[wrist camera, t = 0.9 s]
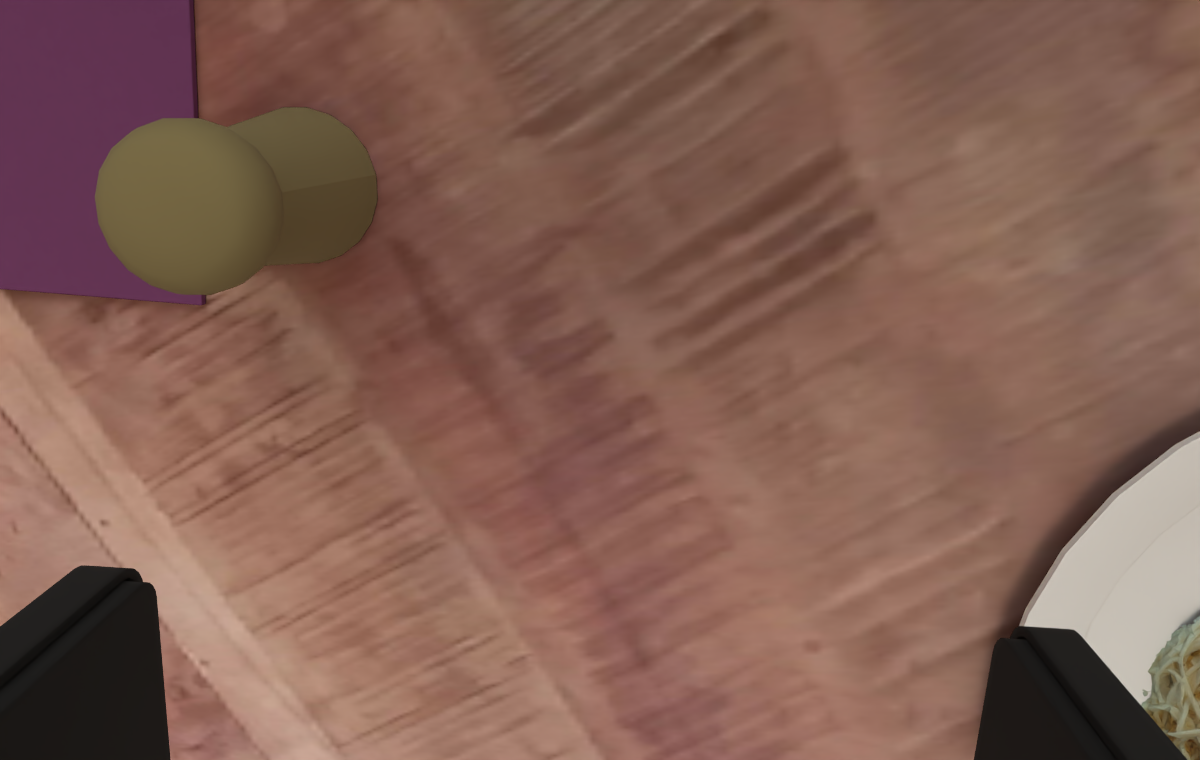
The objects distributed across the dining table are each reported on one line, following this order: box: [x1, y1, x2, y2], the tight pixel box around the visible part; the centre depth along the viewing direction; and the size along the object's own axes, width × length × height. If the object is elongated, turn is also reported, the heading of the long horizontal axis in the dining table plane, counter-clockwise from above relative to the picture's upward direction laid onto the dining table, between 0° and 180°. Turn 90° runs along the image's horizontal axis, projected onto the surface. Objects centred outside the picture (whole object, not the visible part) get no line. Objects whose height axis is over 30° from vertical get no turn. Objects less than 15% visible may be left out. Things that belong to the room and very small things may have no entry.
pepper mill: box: [95, 107, 378, 295], centre depth 32 cm, size 6×6×11 cm
